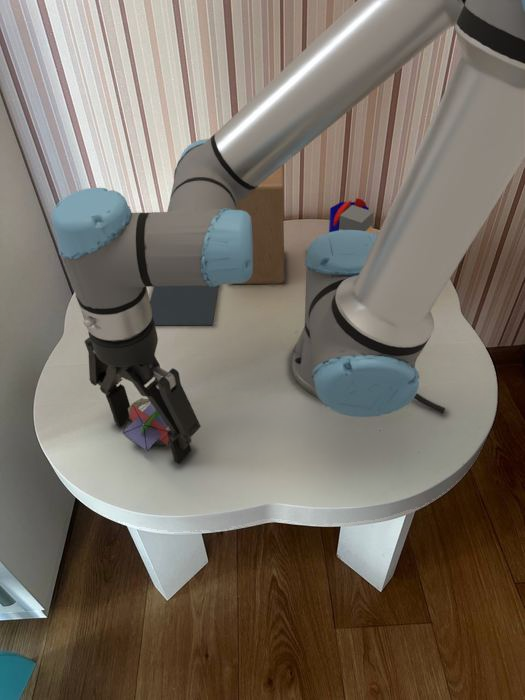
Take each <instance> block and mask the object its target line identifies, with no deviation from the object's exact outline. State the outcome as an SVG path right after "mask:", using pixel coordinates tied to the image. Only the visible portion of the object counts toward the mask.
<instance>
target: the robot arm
mask: <svg viewBox="0 0 525 700" xmlns="http://www.w3.org/2000/svg"><path fill="white" fill-rule="evenodd" d="M452 27H454V30H455V33H456V37H457V40H458V43H459V44H458V45H459V47H460V50H461V51H460V52H461V53H460V54H461V55H460V58H459V60H458V62H457V64H456V67H455V68H454V72H453V74H452V75H451V77H450V80H449V82H448V84H447V86H446V88H445V90H444V93H443V94H442V97H441V99H440V101H439V103H438V106H437V108H436V110H435V112H434V114H433V116H432V118H431V120H430V122H429V124H428V127H427V129H426V131H425V133H424V136H423V137H422V139H421V142H420V144H419V146H418V148H417V150H416V153H415V155H414V157H413V159H412V161H411V163H410V165H409V167H408V169H407V172H406V174H405V176H404V178H403V180H402V182H401V185H400V186H399V189H398V190H397V193H396V195H395V197H394V199H393V201H392V204H391V205H390V208H389V210H388V212H387V214H386V216H385V218H384V221H383V222H382V224H381V226H380V229H379V231H378V233H377V234H376V233H372V232H371V233H370V232H366V231H360V230H340V231H334V232H329V231H328V232H326V233H324V234H322V235H320V236H317V237H316V238H315V239H314V240H312V241H311V242H310V244H309V245H308V247H307V251H306V257H305V260H304V267H305V299H304V301H305V302H304V305H305V306H304V327H303V328H302V330H301V332H300V335H299V337H298V338H297V341H296V343H295V345H294V348H293V351H292V355H291V369H292V373H293V376H294V378H295V380H296V382H297V383H298V384H299V385H300V386H301V387H302V388H303V390H305V391H307V392H308V393H309V394H311V395H313V396H314V397H317V398H318V399H319V401H321V402H322V403H323V404H324V405H325V407H327V408H328V409H330V410H331V411H333V412H335V413H338V414H340V415H344V416H348V417H354V418H374V417H380V416H382V415H383V416H384V415H389V414H391V413H395V412H397V411H399V410H401V409H402V408H404V407H406V406H407V405H409V404H410V403H411V402H412V401H413V400H414V399H415V400H416V401H417V402H419V403H421V404H422V405H424V406H426V407H427V408H430V409H431V410H434V411H436V412H439V413H440V414H444V413H445V411H446V407H443V406H441V405H439V404H437V403H435V402H433V401H431V400H429V399H427V398H425V397H424V396H423V395H421V394H419V393H418V391H419V388H420V387H419V386H420V383H419V382H420V381H419V380H420V374H419V371H418V369H417V368H416V362H417V360H418V358H419V356H420V355H421V353H422V351H423V350H424V348H425V347H426V345H427V344H428V342H429V340H430V339H431V337H432V335H433V333H434V330H435V321H434V316H433V314H432V312H431V310H432V309H433V307H434V305H435V304H436V302H437V300H438V299H439V297H440V296H441V294H442V292H443V291H444V289H445V288H446V286H447V284H448V282H449V281H450V279H451V277H452V276H453V275H454V273H455V271H456V270H457V268H458V266H459V265H460V263H461V261H462V260H463V258H464V256H465V255H466V253H467V252H468V250H469V248H470V247H471V245H472V244H473V241H474V240H475V239H476V237H477V235H478V234H479V232H480V230H481V228H482V227H483V225H484V224H485V222H486V221H487V219H488V217H489V216H490V214H491V212H492V211H493V209H494V207H495V206H496V204H497V203H498V202H499V199H500V197H501V196H502V194H503V193H504V191H505V189H506V188H507V186H508V185H509V183H510V181H511V180H512V178H513V177H514V175H515V173H516V172H517V170H518V168H519V167H520V165H521V164H522V162H523V160H524V159H525V0H356V1H355V2H353V4H352V5H351V6H350V7H348V9H346V10H345V11H344V13H342V14H341V15H340V16H339V17H338V18H336V20H335V21H333V22H332V24H331V25H329V27H327V28H326V29H325V30H324V31H323V32H322V33H321V34H320V35H319V36H318V37H317V38H316V39H314V40H313V41H312V43H311V42H310V44H309V45H308V46H307V47H306V48H305V49H304V50H303V51H302V52H300V54H298V56H297V57H296V58H294V59H293V60H292V61H291V62H290V63H289V64H288V65H287V66H286V67H285V68H284V69H282V70H281V71H280V72H279V73H278V74H277V75H276V76H275V77H274V78H272V79H271V81H270V82H268V84H266V85H265V86H264V87H263V88H262V89H261V90H260V91H259V92H258V93H257V94H256V95H255V96H254V97H252V98H251V99H250V100H248V102H247V103H246V104H245V105H244V106H243V107H242V108H241V109H239V111H237V113H235V114H234V115H233V116H232V117H231V118H229V120H228V121H226V123H225V124H223V125H222V127H220V129H218V130H217V131H216V132H215V133H214V134H213V135H212V136H211V137H209V138H205V139H204V138H203V139H201V140H200V139H199V140H196V141H194V142H192V143H191V144H189V145H188V146H186V148H185V149H184V151H182V154H181V155H180V158H179V159H178V161H177V164H176V166H175V169H174V173H173V184H172V187H171V188H172V189H171V193H170V198H169V203H168V207H167V211H155V212H154V211H152V212H151V211H150V212H140V211H139V212H132V210H131V207H130V206H129V204H128V201H127V199H126V197H125V196H124V195H122V193H120V192H119V191H116V190H114V189H112V190H108V189H107V188H105V187H90V188H83V189H80V190H77V191H74V192H72V193H70V194H68V195H66V196H64V197H63V198H62V199H61V200H59V202H58V203H56V205H55V207H54V209H53V210H52V213H51V223H52V227H53V232H54V234H55V238H56V242H57V246H58V248H57V250H58V254H59V256H60V257H61V258H62V261H63V263H64V266H65V269H66V271H67V275H68V277H69V280H70V283H71V285H72V288H73V292H74V293H75V299H76V300H77V303H78V305H79V309H80V311H81V314H82V317H83V325H84V326H85V327H86V329H87V331H88V337H87V338H86V339H85V340H84V345H85V347H86V349H87V352H88V372H89V373H88V375H89V381H90V383H91V384H92V386H97V385H98V386H99V390H100V391H101V393H103V394H104V395H105V398H106V400H107V403H108V406H109V409H110V411H111V413H112V416H113V419H114V423H115V425H116V426H117V427H119V428H121V427H123V426H125V424H127V422H129V421H130V420H131V419H130V418H129V413H128V408H129V407H130V406H131V404H130V399H129V397H128V394H127V391H126V388H125V385H123V384H121V381H123V379H125V380H127V381H129V382H131V383H132V384H133V386H134V387H135V388H136V390H137V391H138V393H139V394H140V396H141V397H146V399H149V400H150V402H151V403H152V405H153V406H154V408H155V409H156V411H157V412H158V413H159V415H160V416H161V418H162V419H163V421H164V422H165V424H166V425H167V429H168V430H169V432H168V433H167V434H168V438H169V442H168V443H169V446H170V451H171V454H172V457H173V458H172V459H173V462H174V463H175V464H177V465H179V464H181V463H182V462H183V460H184V459H186V457H187V456H188V455H189V454H190V453H191V452H192V446H191V443H192V437H193V436H194V435H195V434H196V433H197V432H198V431H199V430H200V428H201V423H200V421H199V418H198V416H197V414H196V413H195V410H194V409H193V407H192V404H191V403H190V400H189V397H188V396H187V394H186V391H185V390H184V387H183V385H182V384H181V376H180V373H179V371H178V370H177V369H176V368H173V367H172V368H171V369H170V370H168V371H167V370H166V369H163V368H161V365H160V363H159V361H158V359H157V357H156V350H157V347H158V341H159V337H158V331H157V329H156V326H155V323H154V319H153V316H152V308H151V304H150V300H151V299H150V297H149V292H148V288H151V287H153V288H154V286H210V287H211V286H212V287H216V286H218V287H219V286H220V285H234V284H233V283H244V282H246V281H248V280H249V279H250V278H251V276H252V273H253V238H252V222H251V216H250V215H249V214H248V213H247V212H246V211H243V210H236V205H237V204H238V202H240V201H241V200H242V199H243V198H244V197H246V196H247V195H248V194H249V193H251V192H252V191H253V190H254V189H255V188H256V187H258V186H259V184H261V183H262V182H263V181H264V180H265V179H267V178H268V177H269V176H270V175H272V174H273V173H274V172H275V171H276V170H278V169H279V168H280V167H281V166H282V165H283V166H284V165H285V164H287V162H289V161H290V160H291V159H292V158H293V157H295V156H296V155H298V153H300V152H301V151H302V150H304V149H305V148H306V147H307V146H308V145H309V144H311V143H312V142H313V141H314V140H315V139H317V138H319V136H320V135H322V134H323V133H324V132H325V131H327V130H328V129H329V128H330V127H331V126H332V125H334V124H335V123H336V122H337V121H339V120H340V119H341V118H342V117H344V116H345V115H346V114H347V113H348V112H349V111H351V110H352V109H353V108H354V107H356V106H357V105H358V104H359V103H361V102H362V101H363V100H364V99H366V97H368V96H369V95H370V94H371V93H373V92H374V91H375V90H376V89H377V88H379V87H380V86H381V85H383V84H384V83H385V82H386V81H387V80H388V79H389V78H391V77H392V76H394V74H396V73H397V72H398V71H399V70H401V69H402V68H403V67H405V66H406V65H407V64H408V63H409V62H410V61H412V60H413V59H414V58H415V57H416V56H417V55H419V54H420V53H421V52H423V51H424V50H425V49H426V48H428V46H430V45H431V44H433V42H435V41H436V40H437V39H438V38H440V37H441V36H442V35H443V34H445V33H446V32H447V31H448V30H449V29H451V28H452ZM153 378H154V380H152V379H153ZM150 381H151V382H150ZM149 382H150V383H149ZM119 383H120V384H119ZM147 384H148V385H147ZM145 385H146V386H145ZM150 402H149V403H150ZM128 420H129V421H128ZM126 421H127V422H126Z"/></svg>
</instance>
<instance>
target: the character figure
mask: <svg viewBox="0 0 525 700" xmlns="http://www.w3.org/2000/svg"><path fill="white" fill-rule="evenodd" d="M373 220H374V211H373V210H370V209H369V210H366V209H363V208H360V207H357V206H354V205H352V206H351V207H349V208H348V209H347V210H346V211H345V212H344V213H342V214H341V215H340V223H339V231H340V230H360V231H366V232H370V233H372V228H373Z"/></svg>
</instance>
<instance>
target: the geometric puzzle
mask: <svg viewBox="0 0 525 700" xmlns="http://www.w3.org/2000/svg"><path fill="white" fill-rule="evenodd" d="M142 406H143V407H142ZM140 407H142V408H140ZM144 408H145V409H144ZM143 409H144V410H143ZM142 410H143V411H142ZM128 413H129V418H130V419H129V420H128V421H126V423H125V424H124V427H123V430H122V432H121V434H122V435H124V436H125V437H126V438H128V439H129V440H130V441H131V442H132V443H134V444H135V445H137V447H139V448H141V449H143V450H144V451H145V452H146V453H147V452H149V451H151V450H152V448H153V447H155V446H156V447H157V446H159V447H158V449H159V448H161V447H169V446H168V444H169V443H170V442H169V438H168V434H167V433H168V432H169V431H170V429H168V427H167V425H166V424H165V422H164V421H163V419H162V418H161V416H160V415H159V413H158V412H157V411H156V409H155V408H154V406H153V405H152V403H151V402H150V400H149V399H148V398H144V397H141V398H139V399H137V400H135V401H133V403H131V404H130V407H129V408H128ZM131 420H132V421H131ZM128 422H130V424H129V423H128ZM128 424H129V426H128ZM126 426H128V427H127V428H126ZM158 440H159V441H158ZM156 441H158V442H157V443H156ZM160 442H162V443H163V444H159V443H160ZM160 446H161V447H160Z"/></svg>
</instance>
